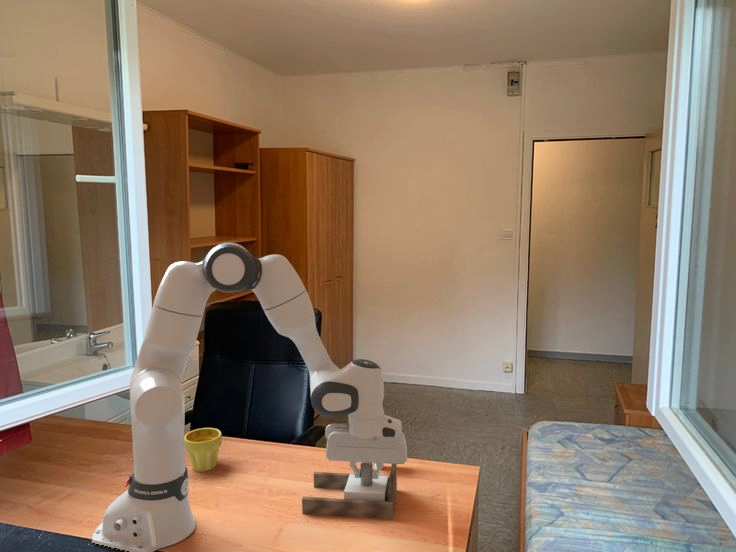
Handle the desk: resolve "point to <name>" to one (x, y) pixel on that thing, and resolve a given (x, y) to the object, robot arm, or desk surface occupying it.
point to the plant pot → (203, 447)
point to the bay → (349, 505)
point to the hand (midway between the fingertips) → (366, 477)
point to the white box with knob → (366, 485)
